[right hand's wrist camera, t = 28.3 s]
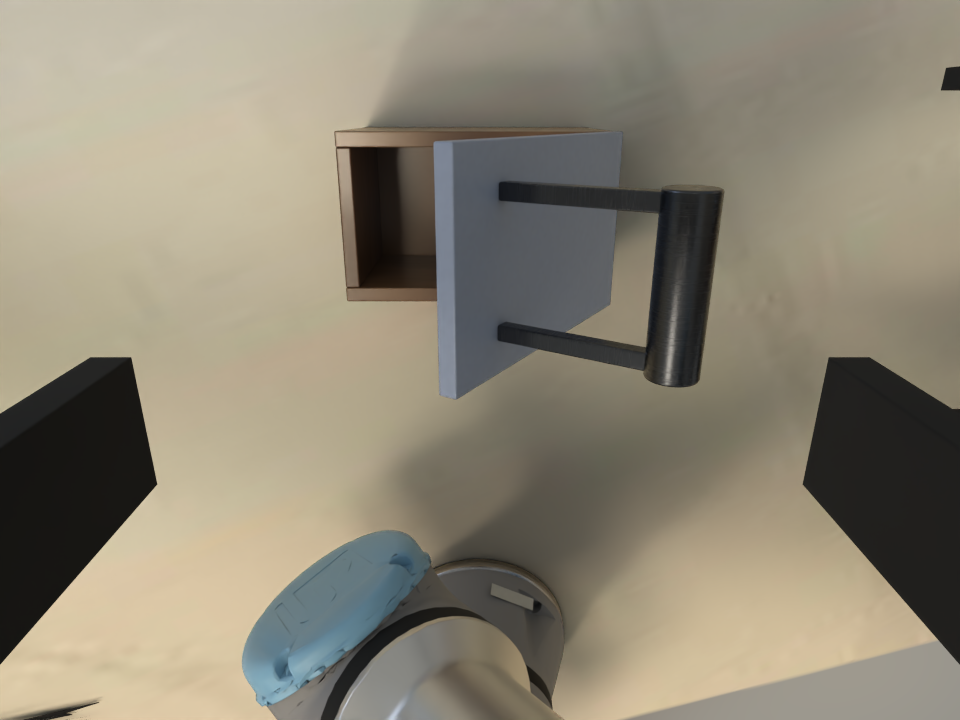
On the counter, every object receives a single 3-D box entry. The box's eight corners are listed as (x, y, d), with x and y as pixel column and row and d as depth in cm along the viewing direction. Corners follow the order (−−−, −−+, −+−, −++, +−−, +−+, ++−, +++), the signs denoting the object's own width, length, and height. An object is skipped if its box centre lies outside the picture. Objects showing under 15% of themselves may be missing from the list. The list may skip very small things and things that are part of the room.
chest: (373, 264, 47) (346, 301, 37) (365, 127, 44) (333, 130, 34) (578, 264, 47) (602, 301, 37) (585, 127, 44) (614, 131, 34)
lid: (438, 395, 25) (665, 456, 21) (432, 141, 22) (701, 148, 17) (597, 302, 37) (760, 328, 33) (608, 131, 34) (791, 134, 30)
